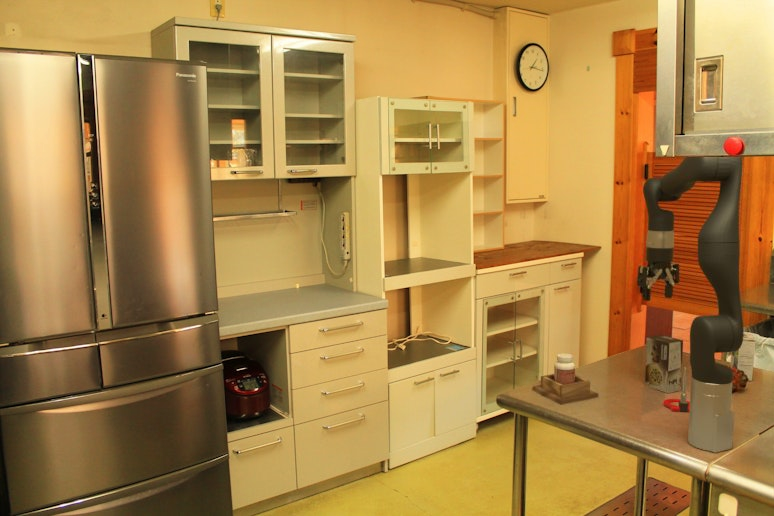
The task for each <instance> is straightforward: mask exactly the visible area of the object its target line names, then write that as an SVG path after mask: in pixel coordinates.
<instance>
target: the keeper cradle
mask: <svg viewBox="0 0 774 516" xmlns="http://www.w3.org/2000/svg"><path fill="white" fill-rule="evenodd" d="M532 391H534V392H535V393H537V394H540V395H541V396H543V397H545V398H548V399H549V400H551V401H553V402H554V403H557V404H559V405H561V406H562V405H566V404H571V403H577V402H582V401H586V400H591V399H596V398H597V397H598V398H599V393H598V392H596V391H594V390H591V380H588V379H586V378H584V377H582V376H579V375H577V374H575V383H570V384H564V385H562V384H560V383H558V382H556V381H554V373H552V374H547V375H541V376H540V384H538V385H534V386H532Z"/></svg>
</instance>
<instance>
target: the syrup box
mask: <svg viewBox="0 0 774 516" xmlns="http://www.w3.org/2000/svg"><path fill="white" fill-rule="evenodd" d="M755 347H756V338H755V337H754V336H753V335H752V334H750V333H744V332H743V342H742V345H741V347H740V349H738V350H737V351H734V352H730V353H731V354H730V364H729V365H730V366H729V367H731V368H732V367H733V366H735V367H736V368H738V369H739V370H742V371H744V373H745V374H746V375H747V377H748V379H749V380H748V382H749V381H750V382H752V381H753V375H754V374H753V373H754V361H755V353H756V352H755Z"/></svg>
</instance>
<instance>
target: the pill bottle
mask: <svg viewBox="0 0 774 516" xmlns="http://www.w3.org/2000/svg"><path fill="white" fill-rule="evenodd" d="M573 359H574V357H573V354H570V353H558V354H557V355H556V360H557V361H555V362H554V367H553V369H554V370H553V374H554V381H556V382H558V383H560V384H562V385H564V384H570V383H575V375H576V374H575V373H576V364H575V363H574V362H573Z"/></svg>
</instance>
